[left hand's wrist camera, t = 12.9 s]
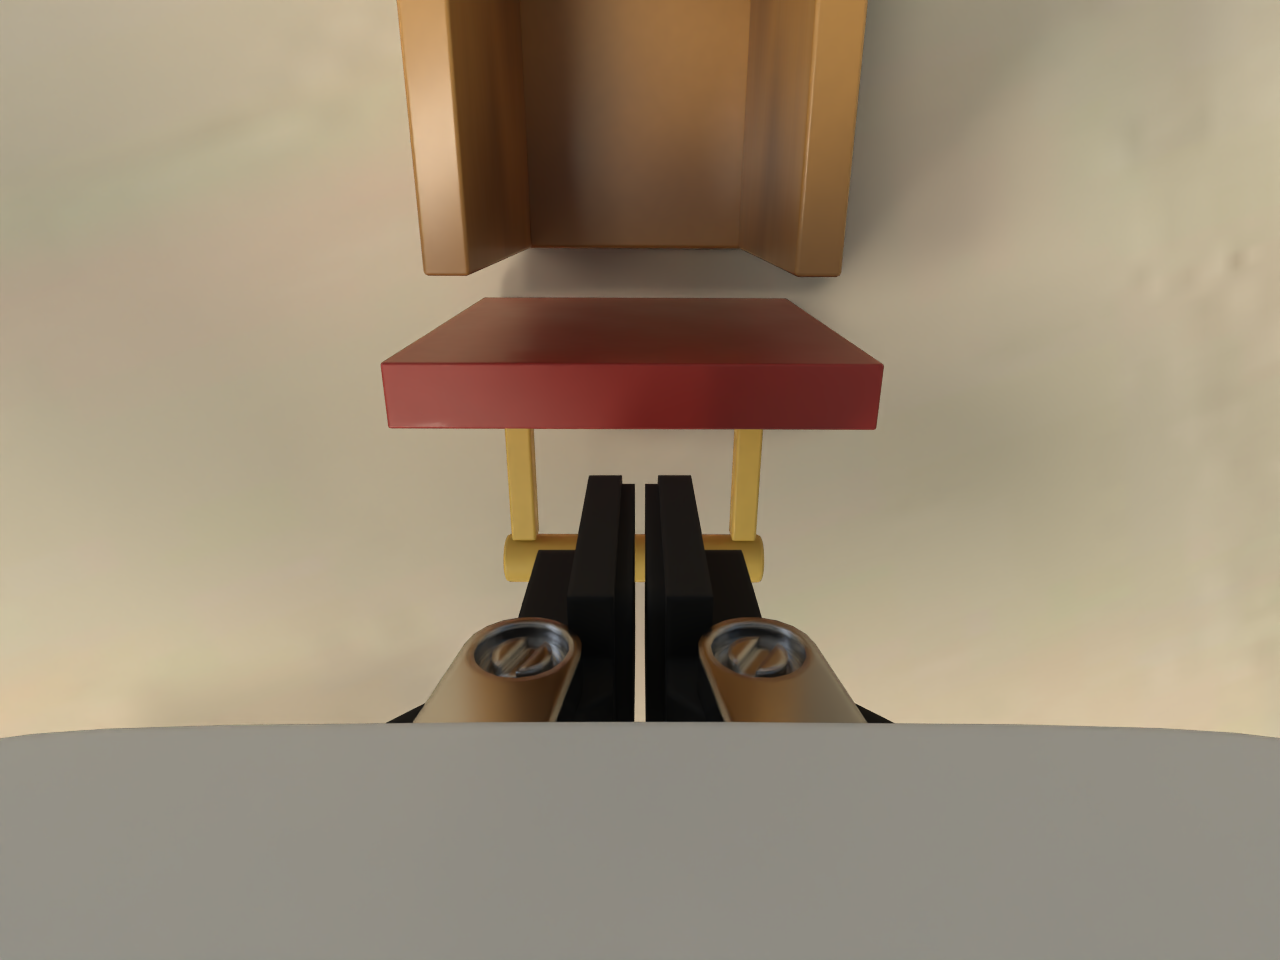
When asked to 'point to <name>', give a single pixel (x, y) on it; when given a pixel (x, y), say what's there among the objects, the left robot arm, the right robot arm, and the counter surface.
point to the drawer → (632, 224)
